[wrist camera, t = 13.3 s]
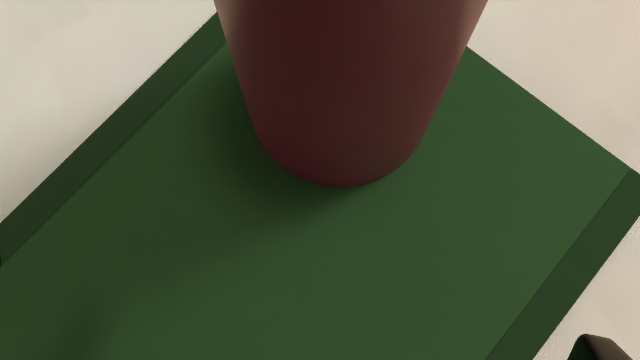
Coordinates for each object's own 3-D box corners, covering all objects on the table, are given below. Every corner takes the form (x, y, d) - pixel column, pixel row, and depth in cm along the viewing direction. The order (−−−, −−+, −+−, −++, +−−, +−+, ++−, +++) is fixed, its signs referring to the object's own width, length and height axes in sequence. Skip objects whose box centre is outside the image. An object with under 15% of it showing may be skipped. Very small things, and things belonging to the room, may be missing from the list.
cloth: (129, 895, 14) (125, 907, 14) (-235, 459, 16) (-245, 461, 16) (654, 191, 18) (660, 188, 18) (305, -69, 21) (305, -75, 20)
